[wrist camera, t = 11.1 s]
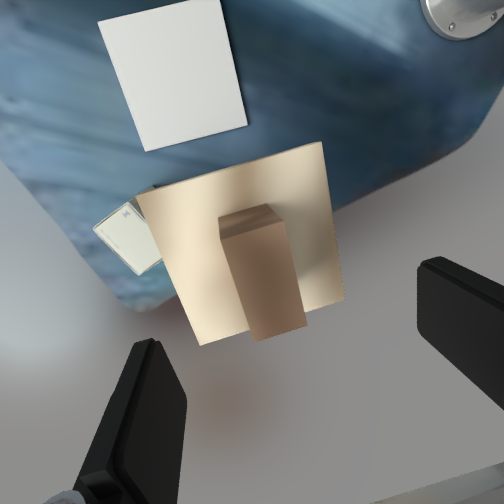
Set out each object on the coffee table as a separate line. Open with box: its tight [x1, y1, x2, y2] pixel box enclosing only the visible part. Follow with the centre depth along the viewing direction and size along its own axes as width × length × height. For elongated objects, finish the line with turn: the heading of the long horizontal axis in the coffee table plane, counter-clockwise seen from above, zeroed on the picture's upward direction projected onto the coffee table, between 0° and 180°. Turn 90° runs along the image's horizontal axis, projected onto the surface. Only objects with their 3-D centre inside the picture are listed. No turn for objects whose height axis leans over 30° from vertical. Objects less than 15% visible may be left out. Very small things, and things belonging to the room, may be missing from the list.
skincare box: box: [93, 186, 163, 275], centre depth 30 cm, size 6×4×12 cm
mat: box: [98, 0, 247, 152], centre depth 31 cm, size 13×13×1 cm
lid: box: [135, 142, 345, 345], centre depth 16 cm, size 11×11×6 cm
